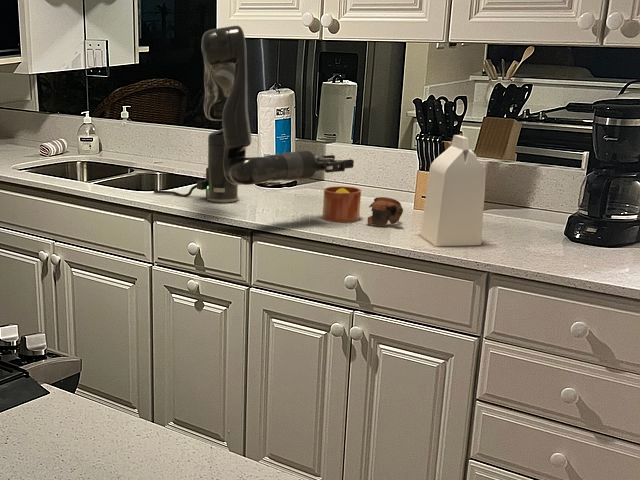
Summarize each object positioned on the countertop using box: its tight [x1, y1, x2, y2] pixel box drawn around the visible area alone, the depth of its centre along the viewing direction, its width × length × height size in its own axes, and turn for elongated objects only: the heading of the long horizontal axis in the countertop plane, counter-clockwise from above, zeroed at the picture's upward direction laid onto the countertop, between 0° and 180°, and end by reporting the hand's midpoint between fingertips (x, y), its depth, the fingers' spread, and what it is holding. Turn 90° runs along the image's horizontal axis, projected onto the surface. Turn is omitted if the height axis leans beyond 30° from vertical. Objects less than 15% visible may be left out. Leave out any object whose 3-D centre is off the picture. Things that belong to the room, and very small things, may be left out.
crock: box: [321, 185, 362, 223], centre depth 263 cm, size 10×10×8 cm
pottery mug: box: [366, 196, 404, 228], centre depth 256 cm, size 12×10×8 cm
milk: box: [419, 134, 487, 247], centre depth 235 cm, size 12×12×26 cm
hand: (343, 161), depth 258 cm, fingers open, 8 cm apart
